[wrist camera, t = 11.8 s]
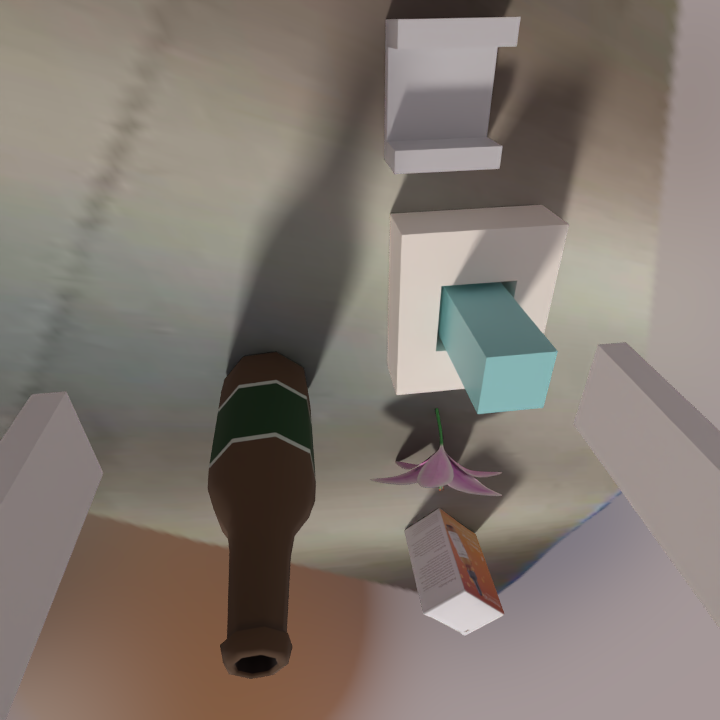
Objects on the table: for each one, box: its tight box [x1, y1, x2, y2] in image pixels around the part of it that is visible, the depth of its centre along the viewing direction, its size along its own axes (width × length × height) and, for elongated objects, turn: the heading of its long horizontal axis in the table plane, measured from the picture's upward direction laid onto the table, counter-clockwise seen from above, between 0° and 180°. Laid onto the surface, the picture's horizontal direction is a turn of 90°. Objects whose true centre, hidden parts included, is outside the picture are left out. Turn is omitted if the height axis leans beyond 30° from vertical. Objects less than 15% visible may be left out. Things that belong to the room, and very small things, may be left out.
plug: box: [437, 282, 558, 414], centre depth 36 cm, size 4×4×12 cm
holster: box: [384, 17, 521, 174], centre depth 31 cm, size 8×7×4 cm
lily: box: [370, 408, 502, 496], centre depth 48 cm, size 12×12×10 cm
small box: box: [405, 508, 504, 635], centre depth 57 cm, size 8×6×10 cm
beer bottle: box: [208, 352, 316, 679], centre depth 35 cm, size 8×8×24 cm
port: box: [387, 205, 569, 395], centre depth 40 cm, size 14×12×5 cm
